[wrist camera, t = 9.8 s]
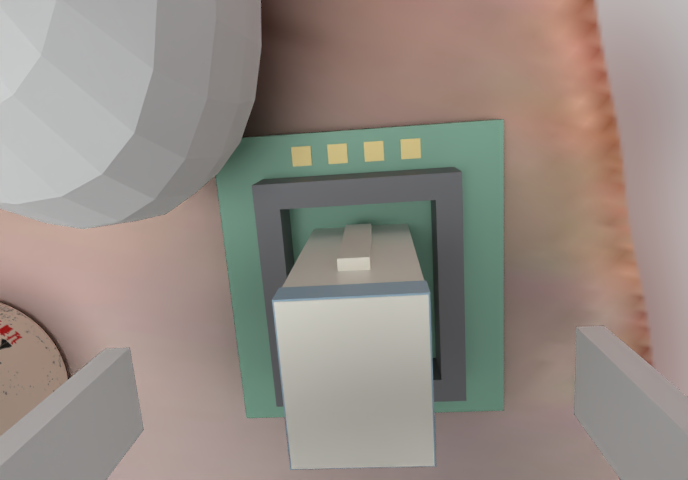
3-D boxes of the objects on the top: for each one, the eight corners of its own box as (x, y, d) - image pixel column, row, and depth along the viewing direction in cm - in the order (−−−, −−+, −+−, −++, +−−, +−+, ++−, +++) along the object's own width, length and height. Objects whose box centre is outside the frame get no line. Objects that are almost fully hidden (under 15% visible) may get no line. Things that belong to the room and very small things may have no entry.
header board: (496, 393, 25) (515, 436, 22) (254, 401, 26) (235, 444, 23) (495, 119, 22) (517, 119, 19) (221, 138, 23) (194, 143, 20)
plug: (413, 334, 23) (436, 467, 14) (322, 338, 23) (290, 471, 15) (408, 214, 22) (429, 279, 13) (311, 219, 22) (270, 287, 13)
